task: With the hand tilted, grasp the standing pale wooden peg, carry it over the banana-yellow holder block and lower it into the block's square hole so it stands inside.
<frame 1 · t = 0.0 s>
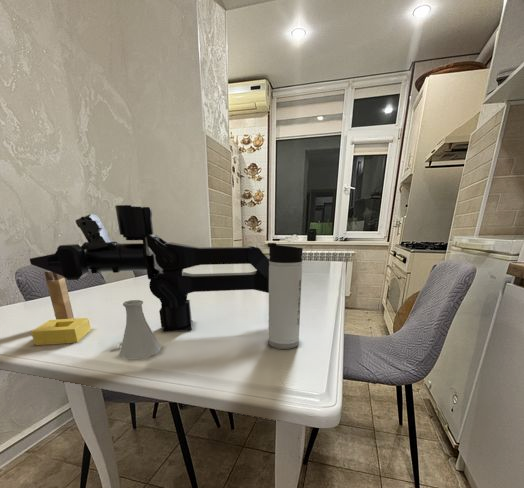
hand: (42, 258, 59), 17 cm above the table, tool horizontal, fingers open, 9 cm apart
peg: (66, 322, 73), on the table
travel mug: (282, 344, 60), on the table
flask: (141, 353, 56), on the table
holder: (65, 337, 64), on the table
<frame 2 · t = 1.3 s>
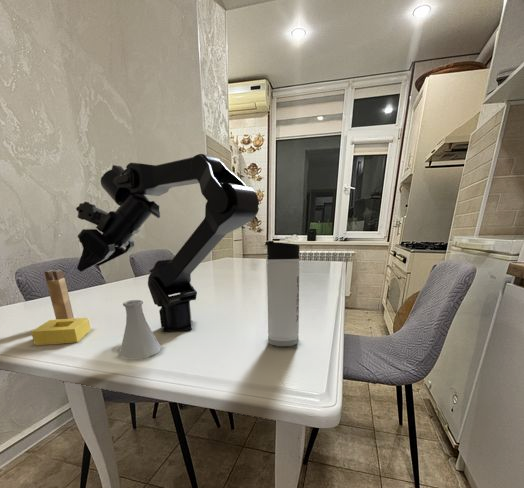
hand: (88, 267, 69), 14 cm above the table, tool tilted 45°, fingers open, 9 cm apart
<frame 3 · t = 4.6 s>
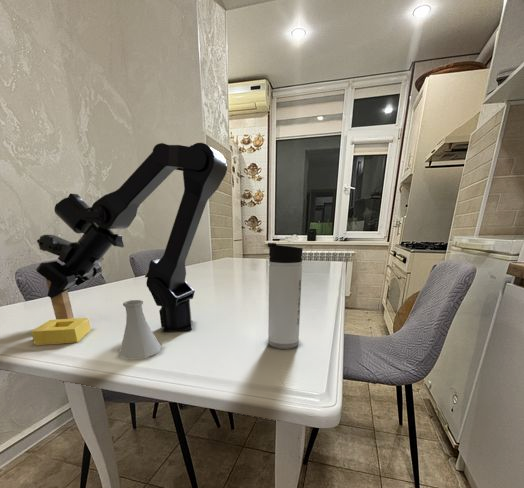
hand: (53, 295, 70), 7 cm above the table, tool tilted 45°, fingers closed on peg, 3 cm apart
peg: (66, 322, 73), on the table, touching gripper
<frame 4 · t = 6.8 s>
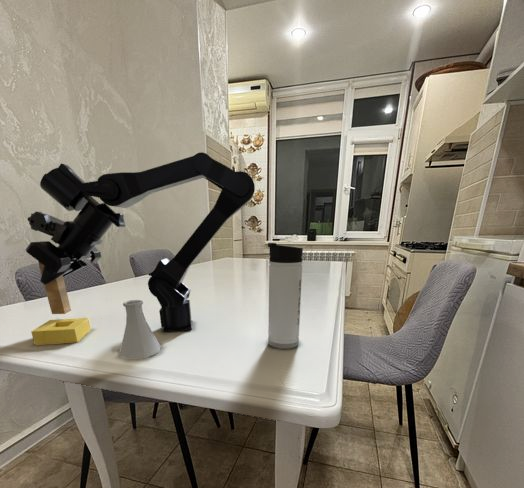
hand: (47, 281, 64), 11 cm above the table, tool tilted 45°, fingers closed on peg, 3 cm apart
peg: (61, 312, 66), point 4 cm above the table, touching gripper
everything else where it was.
when the fingers open (7 cm above the table, at t = 9.4 s): peg stays where it is, resting in holder.
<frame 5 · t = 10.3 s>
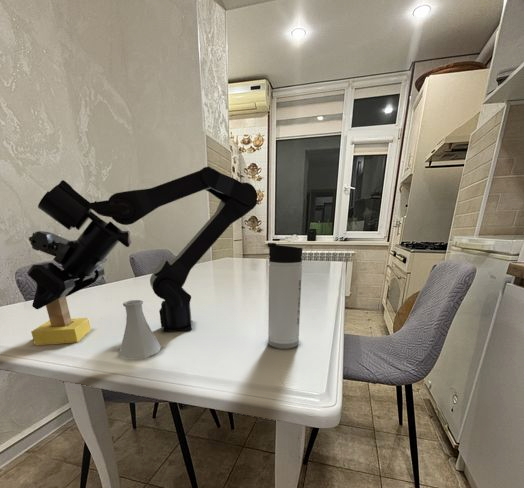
hand: (48, 302, 61), 8 cm above the table, tool tilted 45°, fingers open, 9 cm apart
peg: (65, 337, 64), resting in holder
everything else where it was.
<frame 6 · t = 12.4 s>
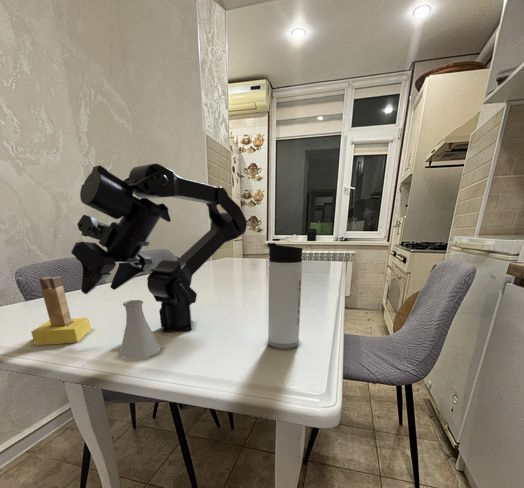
hand: (99, 290, 62), 10 cm above the table, tool tilted 35°, fingers open, 9 cm apart
nothing on the table moved.
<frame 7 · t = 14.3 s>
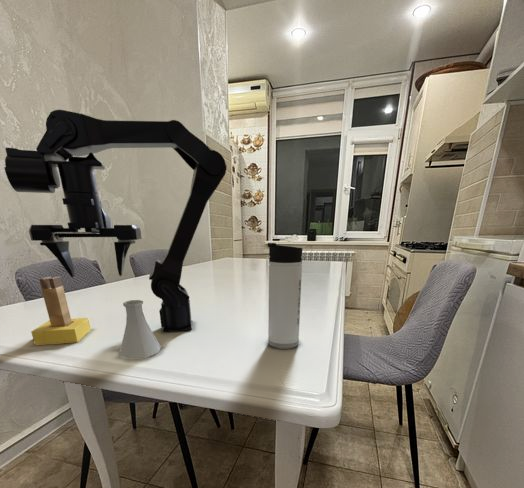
hand: (97, 276, 61), 13 cm above the table, tool pointing down, fingers open, 9 cm apart
nothing on the table moved.
at the end: peg 0.0 cm off-centre in the holder, point 0.0 cm above the holder's base; peg tilted 0°; the gripper is holding nothing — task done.
